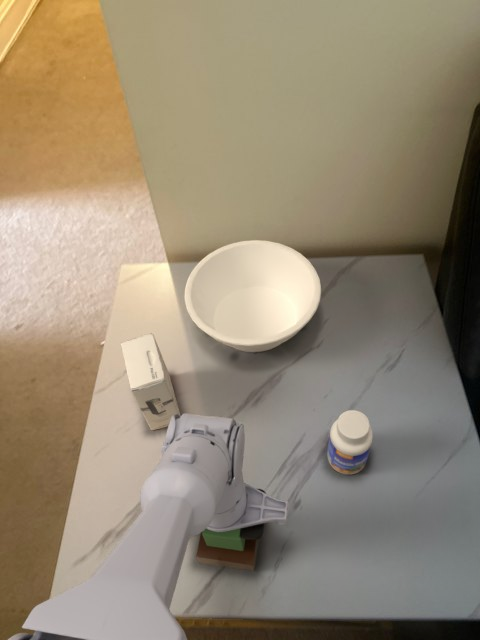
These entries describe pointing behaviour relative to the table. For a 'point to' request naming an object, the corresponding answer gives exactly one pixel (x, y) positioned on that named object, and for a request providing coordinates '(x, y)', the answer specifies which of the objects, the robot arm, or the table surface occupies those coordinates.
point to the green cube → (224, 539)
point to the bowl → (253, 294)
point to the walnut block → (228, 555)
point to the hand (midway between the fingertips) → (228, 528)
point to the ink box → (150, 380)
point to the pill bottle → (349, 442)
